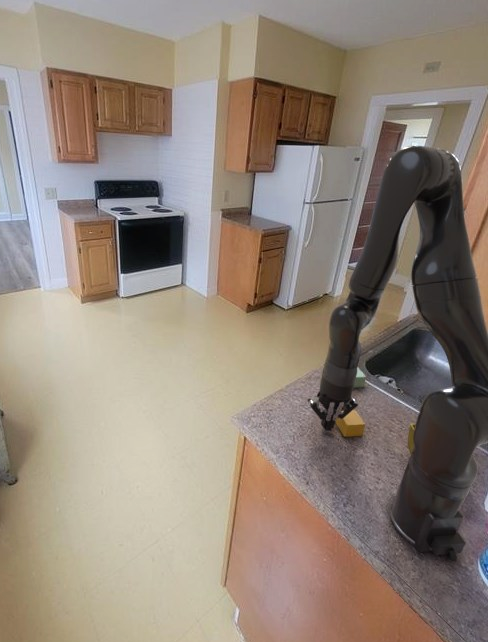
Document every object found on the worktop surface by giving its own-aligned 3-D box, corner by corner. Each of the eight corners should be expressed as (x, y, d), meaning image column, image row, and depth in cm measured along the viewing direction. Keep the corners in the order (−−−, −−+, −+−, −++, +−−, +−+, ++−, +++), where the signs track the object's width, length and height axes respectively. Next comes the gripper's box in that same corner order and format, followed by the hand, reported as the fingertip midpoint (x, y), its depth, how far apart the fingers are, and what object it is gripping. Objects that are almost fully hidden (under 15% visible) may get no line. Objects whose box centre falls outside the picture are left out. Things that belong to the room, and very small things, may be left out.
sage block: (363, 387, 103) (366, 376, 101) (348, 387, 102) (351, 377, 101) (355, 377, 108) (357, 367, 106) (341, 377, 107) (343, 367, 106)
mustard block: (362, 435, 85) (365, 424, 83) (344, 436, 84) (347, 425, 83) (352, 421, 90) (355, 410, 88) (335, 422, 89) (338, 411, 88)
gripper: (318, 386, 75) (308, 441, 82) (372, 384, 76) (357, 438, 83) (307, 366, 82) (297, 418, 89) (356, 365, 83) (343, 416, 90)
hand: (326, 428), depth 86 cm, fingers closed
